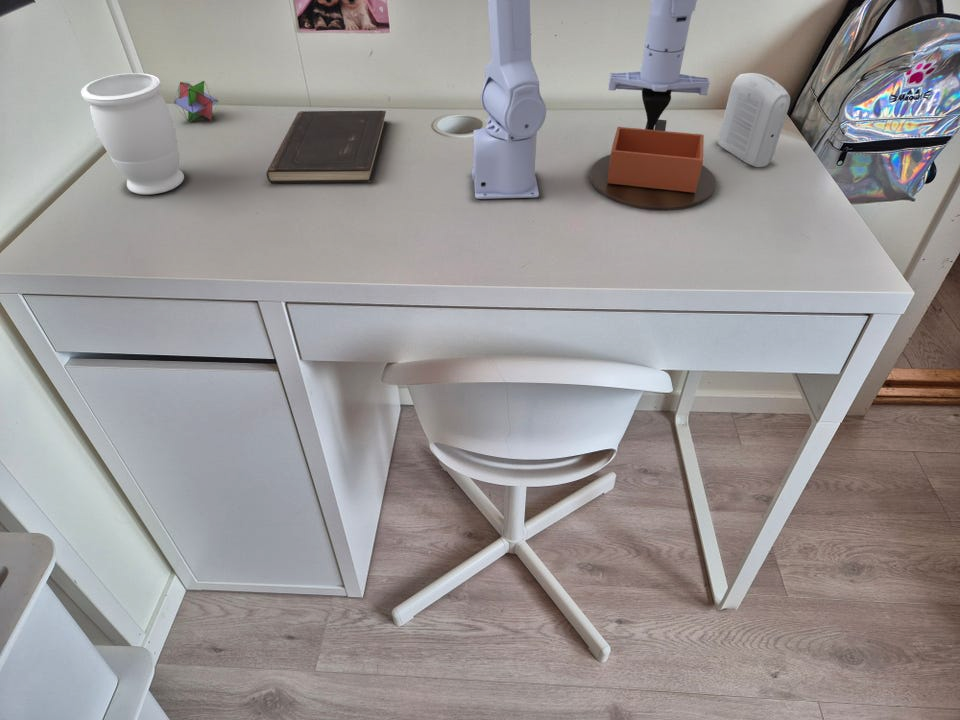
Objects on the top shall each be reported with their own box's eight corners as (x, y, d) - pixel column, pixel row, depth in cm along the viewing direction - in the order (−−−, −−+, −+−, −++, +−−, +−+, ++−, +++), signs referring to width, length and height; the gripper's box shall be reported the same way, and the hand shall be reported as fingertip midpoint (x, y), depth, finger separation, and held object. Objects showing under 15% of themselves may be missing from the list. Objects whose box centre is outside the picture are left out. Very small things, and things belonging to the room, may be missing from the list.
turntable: (601, 212, 94) (601, 208, 94) (581, 154, 108) (581, 150, 108) (732, 209, 94) (733, 205, 94) (695, 151, 108) (696, 148, 108)
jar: (204, 182, 102) (173, 83, 92) (140, 206, 96) (99, 104, 86) (170, 161, 107) (137, 66, 97) (108, 183, 102) (67, 85, 92)
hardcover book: (387, 123, 118) (385, 110, 117) (371, 182, 101) (369, 169, 100) (298, 123, 118) (296, 111, 117) (268, 183, 101) (265, 169, 100)
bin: (606, 183, 99) (610, 151, 95) (615, 146, 108) (619, 115, 105) (695, 193, 96) (703, 160, 93) (696, 154, 106) (703, 123, 102)
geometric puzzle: (233, 104, 120) (202, 64, 117) (208, 118, 115) (175, 77, 112) (214, 123, 124) (184, 85, 121) (190, 137, 120) (157, 98, 117)
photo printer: (775, 165, 105) (800, 86, 96) (753, 170, 103) (777, 90, 95) (733, 140, 112) (753, 64, 103) (712, 144, 110) (731, 68, 102)
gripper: (613, 52, 92) (602, 144, 102) (719, 57, 91) (697, 150, 100) (614, 37, 98) (602, 126, 107) (713, 41, 96) (693, 132, 105)
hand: (648, 137), depth 104 cm, fingers closed, pressing on bin
